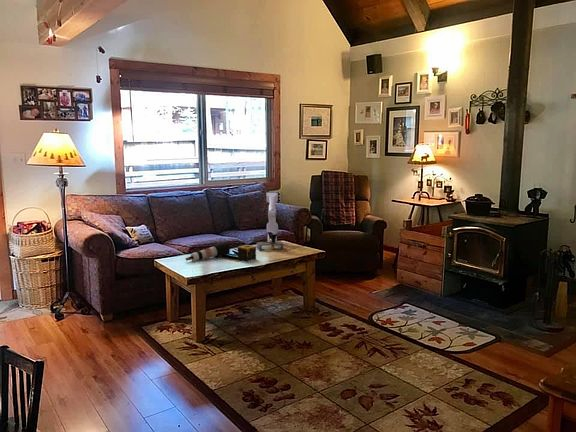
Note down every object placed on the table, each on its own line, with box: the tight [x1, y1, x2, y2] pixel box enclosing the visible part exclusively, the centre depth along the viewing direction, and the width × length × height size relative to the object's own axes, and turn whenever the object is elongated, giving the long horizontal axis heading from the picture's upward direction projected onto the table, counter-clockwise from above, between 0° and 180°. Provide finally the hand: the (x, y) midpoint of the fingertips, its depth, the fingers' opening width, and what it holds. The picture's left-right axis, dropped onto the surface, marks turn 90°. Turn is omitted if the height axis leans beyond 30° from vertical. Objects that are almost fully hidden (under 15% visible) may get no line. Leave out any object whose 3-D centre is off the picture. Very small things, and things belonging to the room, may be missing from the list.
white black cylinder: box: [185, 241, 231, 262], centre depth 357 cm, size 10×34×10 cm, turn 128°
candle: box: [237, 244, 257, 262], centre depth 354 cm, size 10×10×10 cm
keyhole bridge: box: [256, 240, 284, 252], centre depth 390 cm, size 10×20×5 cm, turn 106°
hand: (272, 241), depth 390 cm, fingers open, 7 cm apart
